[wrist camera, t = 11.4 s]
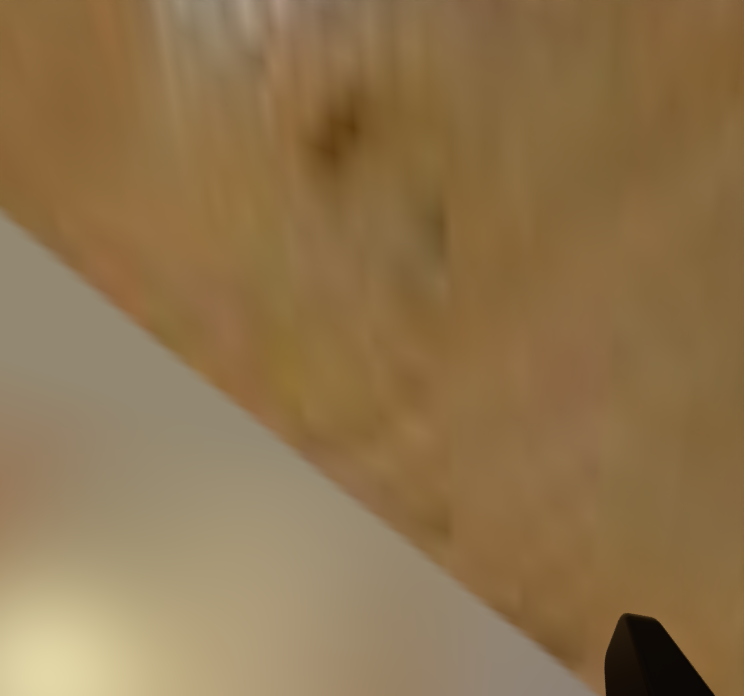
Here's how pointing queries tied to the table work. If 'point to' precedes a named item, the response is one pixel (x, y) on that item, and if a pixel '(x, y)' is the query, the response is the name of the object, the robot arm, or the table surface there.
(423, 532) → the table surface
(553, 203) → the table surface
